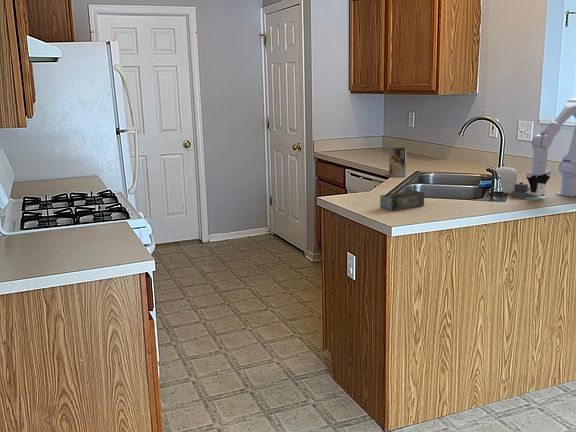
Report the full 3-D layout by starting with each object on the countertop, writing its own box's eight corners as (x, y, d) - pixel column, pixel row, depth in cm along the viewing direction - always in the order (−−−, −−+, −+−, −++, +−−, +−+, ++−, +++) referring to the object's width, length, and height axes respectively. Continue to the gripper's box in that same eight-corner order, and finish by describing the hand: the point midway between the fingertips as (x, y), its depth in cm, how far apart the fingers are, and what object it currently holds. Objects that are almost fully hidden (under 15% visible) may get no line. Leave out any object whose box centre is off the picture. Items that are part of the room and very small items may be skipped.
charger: (535, 193, 263) (536, 182, 262) (544, 194, 259) (545, 183, 258) (528, 194, 261) (529, 183, 260) (537, 195, 257) (538, 184, 256)
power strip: (531, 193, 272) (532, 178, 271) (544, 195, 266) (545, 181, 265) (511, 196, 266) (512, 181, 264) (523, 198, 260) (524, 183, 258)
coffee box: (406, 175, 328) (407, 147, 324) (405, 177, 322) (406, 148, 318) (390, 174, 330) (390, 147, 327) (388, 176, 324) (389, 148, 321)
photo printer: (516, 193, 273) (518, 167, 270) (514, 194, 269) (516, 168, 266) (493, 191, 278) (495, 166, 275) (492, 192, 274) (493, 167, 271)
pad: (538, 196, 264) (538, 195, 264) (547, 198, 260) (547, 197, 260) (525, 198, 260) (525, 197, 260) (534, 200, 256) (534, 199, 256)
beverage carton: (378, 208, 245) (379, 193, 243) (412, 203, 254) (412, 188, 253) (391, 212, 238) (391, 196, 236) (425, 206, 248) (425, 191, 246)
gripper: (542, 159, 263) (540, 188, 266) (521, 162, 256) (518, 191, 259) (556, 161, 257) (553, 191, 260) (534, 163, 250) (532, 194, 253)
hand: (537, 191), depth 259 cm, fingers closed on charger, 4 cm apart
